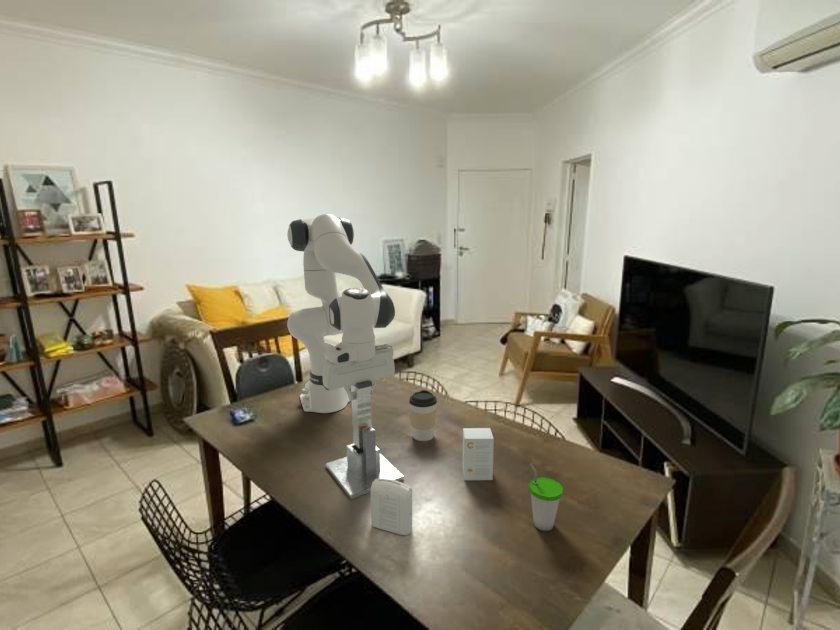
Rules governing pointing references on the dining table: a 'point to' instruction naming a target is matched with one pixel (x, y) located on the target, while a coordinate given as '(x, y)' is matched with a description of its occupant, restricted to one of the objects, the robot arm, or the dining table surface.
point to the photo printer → (391, 506)
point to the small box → (478, 454)
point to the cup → (544, 501)
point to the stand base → (362, 467)
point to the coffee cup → (423, 415)
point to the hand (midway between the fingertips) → (360, 397)
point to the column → (361, 411)
